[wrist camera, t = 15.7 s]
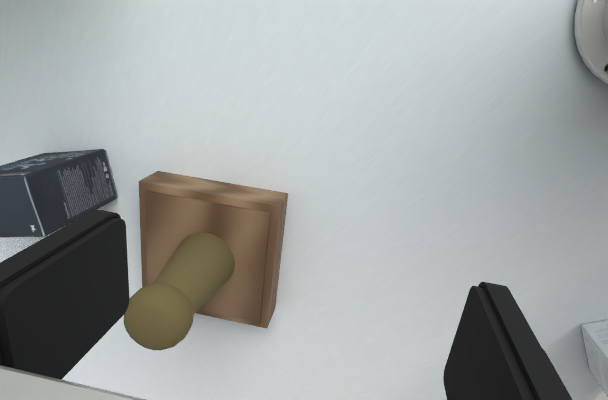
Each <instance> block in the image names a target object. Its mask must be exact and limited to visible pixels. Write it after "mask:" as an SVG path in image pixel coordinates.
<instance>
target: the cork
mask: <svg viewBox="0 0 608 400" xmlns="http://www.w3.org/2000/svg"><path fill="white" fill-rule="evenodd" d="M234 267H235V261H234V256H233V253H232V251H231V250H230V248H229V246H228V245H227V244H226V243H225V242H224V241H223V240H222V239H220V238H218V237H217V236H215V235H213V234H209V233H205V232H199V233H193V234H191V235H188V236H187V237H186V238H184V239H183V240H182V241H181V243H180V244H179V246H178V247H177V249H176V250H175V252H174V253H173V255H172V256H171V258H170V259H169V260H168V262H167V263H166V265H165V266H164V268H163V269H162V271H161V272H160V274H159V275H158V277H157V278H156V280H155V281H154V283H153V284H150V285H147V286H145V287H143V288H141V289H140V290H138V291H137V292H136V293H135V294H134V295H133V296H132V297H131V298H130V299H129V306H128V308H127V311H126V312H125V314H124V325H125V328H126V331H127V332H128V334H129V335H130V337H131V338H132V339H133V340H134V341H136V342H137V343H138V344H140V345H141V346H143V347H145V348H148V349H152V350H164V349H167V348H171V347H174V346H175V345H176V344H178V343H179V342H180V341H181V340H183V339H184V338H185V336H186V335H187V333H188V331H189V330H190V328H191V325H192V322H193V315H194V314H195V313H196V312H197V311H198V310H199V309H200V308H201V307H202V306H203V305H204V304H205V303H206V302H207V301H208V300H209V299H210V298H211V297H212V296H213V295H214V294H215V293H216V292H217V291H218V290H219V289H220V288H221V287H222V286H223V285H224V284H225V283H226V282H227V281H228V280H229V279H230V277H231V275H232V274H233V272H234Z"/></svg>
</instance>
